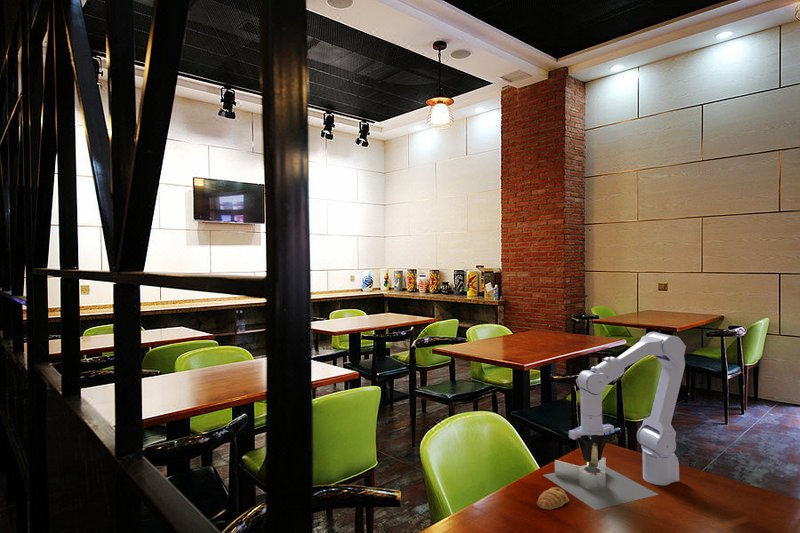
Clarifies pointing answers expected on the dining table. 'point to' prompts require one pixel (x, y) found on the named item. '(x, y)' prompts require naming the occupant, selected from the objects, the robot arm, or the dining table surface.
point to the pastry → (552, 498)
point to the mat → (614, 493)
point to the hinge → (583, 474)
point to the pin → (594, 456)
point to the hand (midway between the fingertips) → (592, 460)
